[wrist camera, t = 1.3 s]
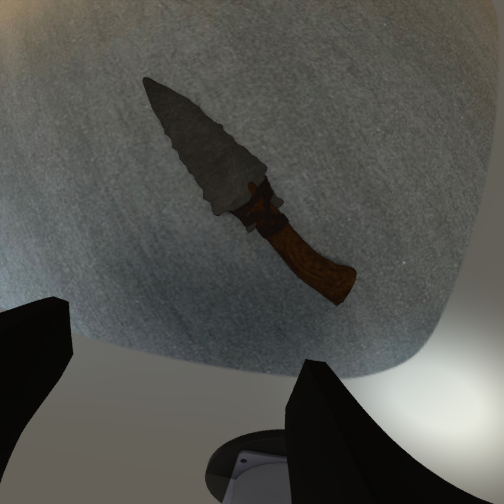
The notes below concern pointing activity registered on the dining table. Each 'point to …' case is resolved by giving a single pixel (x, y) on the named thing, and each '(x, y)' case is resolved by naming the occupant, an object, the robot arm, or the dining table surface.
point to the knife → (241, 188)
